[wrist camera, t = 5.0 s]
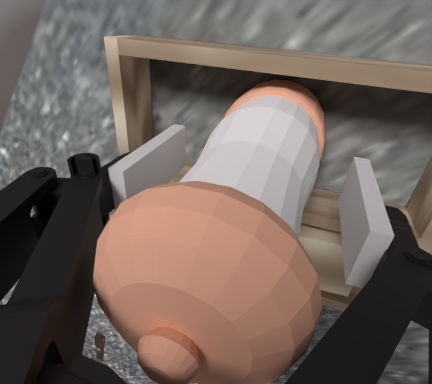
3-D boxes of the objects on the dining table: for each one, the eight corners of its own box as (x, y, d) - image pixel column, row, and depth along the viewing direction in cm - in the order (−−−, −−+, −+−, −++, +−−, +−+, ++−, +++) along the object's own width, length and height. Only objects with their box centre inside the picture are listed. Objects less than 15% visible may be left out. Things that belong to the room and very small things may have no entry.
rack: (136, 34, 22) (103, 36, 19) (497, 71, 16) (541, 83, 13) (150, 224, 32) (130, 246, 29) (376, 287, 26) (384, 324, 23)
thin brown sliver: (104, 362, 57) (103, 364, 57) (93, 356, 57) (92, 358, 57) (109, 334, 50) (108, 336, 50) (96, 328, 50) (95, 330, 50)
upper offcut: (175, 192, 26) (162, 207, 24) (362, 229, 22) (366, 250, 20) (178, 234, 29) (167, 250, 27) (346, 273, 24) (347, 296, 22)
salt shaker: (250, 178, 25) (128, 433, 9) (217, 101, 22) (-24, 273, 7) (336, 155, 22) (367, 494, 6) (309, 61, 19) (239, 222, 4)
